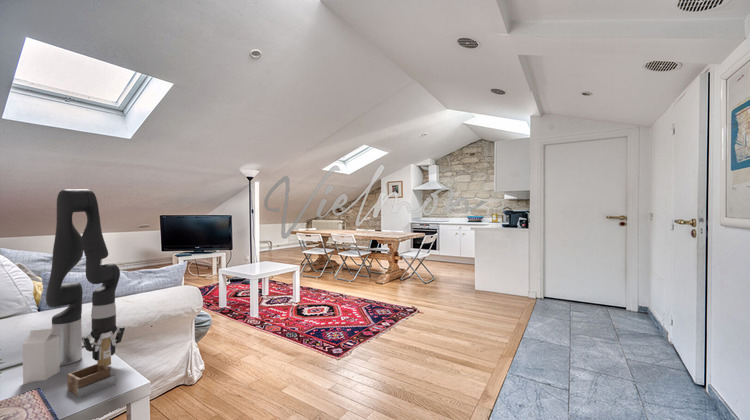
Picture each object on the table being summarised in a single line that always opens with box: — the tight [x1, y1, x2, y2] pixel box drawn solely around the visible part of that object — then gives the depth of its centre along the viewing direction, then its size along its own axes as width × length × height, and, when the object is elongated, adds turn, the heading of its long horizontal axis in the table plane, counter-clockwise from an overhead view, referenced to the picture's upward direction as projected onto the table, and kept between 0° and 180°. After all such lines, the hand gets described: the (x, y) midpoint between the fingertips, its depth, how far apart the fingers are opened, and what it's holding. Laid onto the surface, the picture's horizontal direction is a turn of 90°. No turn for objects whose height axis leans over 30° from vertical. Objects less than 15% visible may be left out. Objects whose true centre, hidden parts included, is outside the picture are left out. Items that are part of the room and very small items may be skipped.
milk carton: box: [22, 328, 61, 385], centre depth 125 cm, size 7×7×19 cm
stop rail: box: [76, 374, 116, 400], centre depth 114 cm, size 2×10×4 cm, turn 151°
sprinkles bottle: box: [96, 332, 112, 367], centre depth 131 cm, size 5×5×14 cm
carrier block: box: [66, 363, 111, 396], centre depth 117 cm, size 9×9×6 cm
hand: (104, 357), depth 131 cm, fingers closed on sprinkles bottle, 4 cm apart
